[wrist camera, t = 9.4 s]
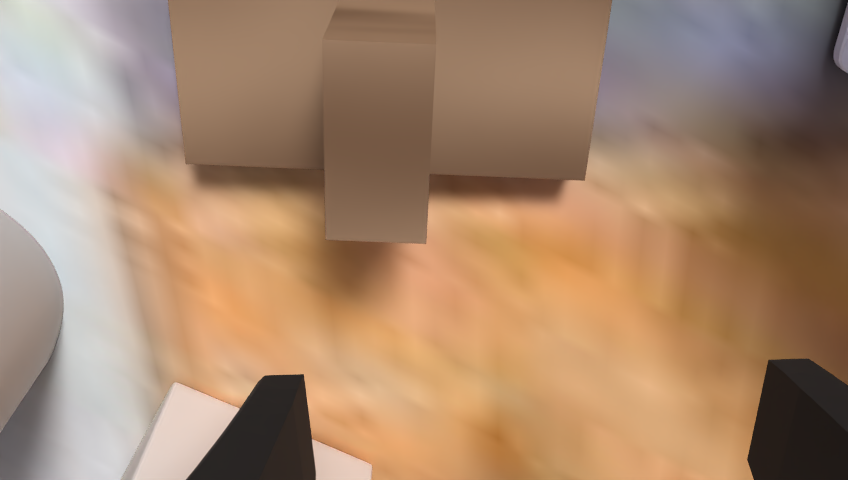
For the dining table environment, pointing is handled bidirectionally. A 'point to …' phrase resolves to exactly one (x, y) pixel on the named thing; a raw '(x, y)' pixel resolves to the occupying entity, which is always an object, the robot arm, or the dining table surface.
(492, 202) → the dining table surface
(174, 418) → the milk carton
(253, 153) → the walnut strip
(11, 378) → the lumpy-topped squat cylinder
